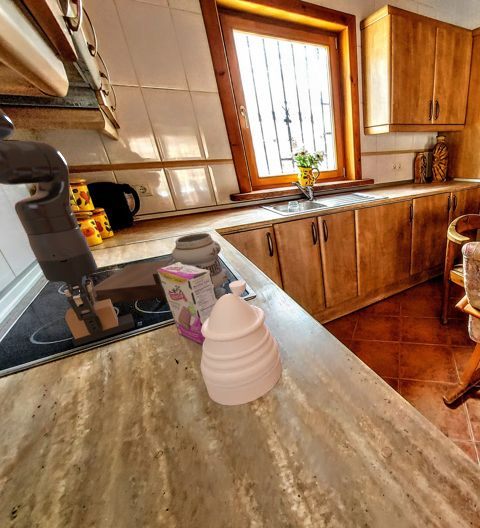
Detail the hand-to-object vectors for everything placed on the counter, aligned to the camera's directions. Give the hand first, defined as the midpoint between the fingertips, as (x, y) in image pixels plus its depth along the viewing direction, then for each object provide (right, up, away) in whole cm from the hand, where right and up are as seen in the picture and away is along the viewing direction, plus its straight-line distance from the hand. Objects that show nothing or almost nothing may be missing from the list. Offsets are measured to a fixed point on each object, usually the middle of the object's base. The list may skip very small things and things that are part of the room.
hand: (96, 326), depth 60 cm
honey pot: (+36, -7, -9) cm, 38 cm away
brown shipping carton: (+1, -1, +1) cm, 2 cm away
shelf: (-7, +5, +25) cm, 27 cm away
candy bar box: (+21, -3, +3) cm, 22 cm away
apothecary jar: (+14, +4, +20) cm, 25 cm away
